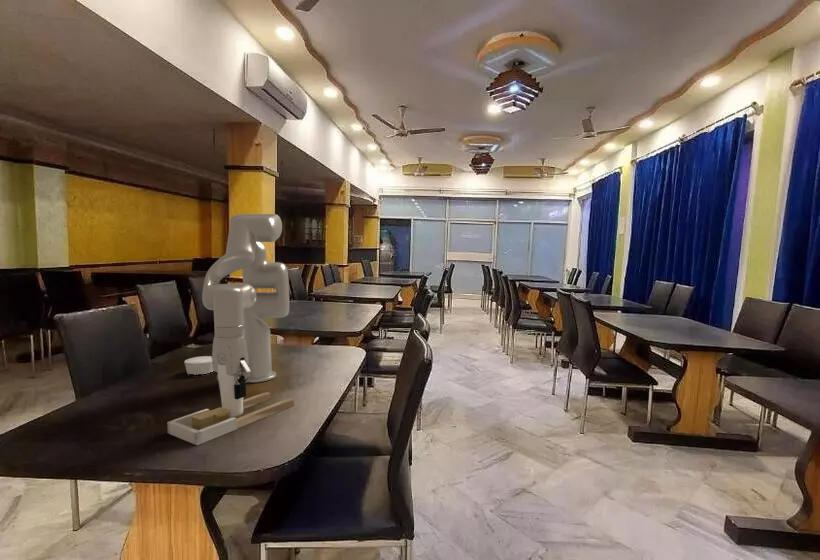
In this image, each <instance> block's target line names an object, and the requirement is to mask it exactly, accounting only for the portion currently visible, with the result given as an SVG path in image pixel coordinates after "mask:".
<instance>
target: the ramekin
mask: <svg viewBox="0 0 820 560" xmlns="http://www.w3.org/2000/svg"><path fill="white" fill-rule="evenodd" d="M183 364H184V366H185V369H186V374H187V375H189V374H194V375H196V374H197V375H198V374H207V373H210V372H213V371H214V370H213V368H212V355H211V356H210V355H209V356H208V355H204V356H201V355H200V356H195V357H191V358H188V359H185V360H184V362H183ZM214 372H215V371H214ZM214 372H213V373H214ZM207 375H208V374H207Z"/></svg>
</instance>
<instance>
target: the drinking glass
mask: <svg viewBox="0 0 820 560" xmlns="http://www.w3.org/2000/svg"><path fill="white" fill-rule="evenodd" d="M238 372H242V369H241V367H240V368H239V371H238ZM241 376H242V374H240V375H238V378H240V377H241ZM218 379H219V380H218V381H219V387H220V394H221V395H220V394H219V395H220V399H221V400H220V401H221V408H224V409H228V410H229V418H233V417H234V418H238V417H241V415H242V414H244V409H243V400H244V397H242V398H240V399H235V393H234V385H236V383H235V379H234V375H233V376H230V375H227V373H226V365H221V364H218Z"/></svg>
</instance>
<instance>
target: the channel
mask: <svg viewBox="0 0 820 560" xmlns="http://www.w3.org/2000/svg"><path fill="white" fill-rule="evenodd" d="M270 400H271V392H268V391H266V392H262V393H260V394H257V395H254V396H250V397H248V398H245V399H243V410H244V409H248V408H250V407H253V406H255V405H258V403H259V404H262V403H263V402H264V403H265V402H266V401H270ZM292 407H295V399H294V398H291V397H289V398H285V399H284V400H282V401H279V402H276V403H273V404H271V405H268V406H266V407H262V408H261V409H258V410H255V411H252V412H249V413H247V414H244V415H242V416H241V415H240V416H238V417H235V418H236V421H237V429H239V428H242V427H245V426H247V425H250V424H252V423H254V422H256V421H257V422H258V421H260V420H261V419H264V417H265V418H267V417H269V415H270V416H271V415H274V413H275V414H277V413H280V412H281V411H284V410H286V409H289V408H292ZM259 419H260V420H259Z"/></svg>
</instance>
